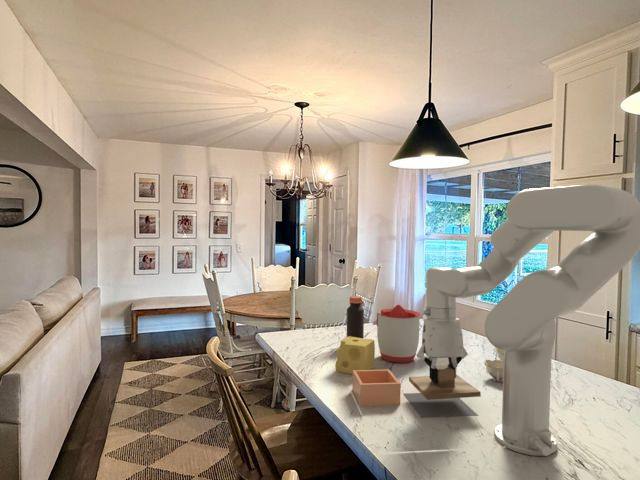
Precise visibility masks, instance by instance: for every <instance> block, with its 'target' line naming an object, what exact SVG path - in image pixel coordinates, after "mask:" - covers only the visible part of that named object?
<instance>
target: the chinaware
mask: <svg viewBox="0 0 640 480" xmlns="http://www.w3.org/2000/svg"><path fill="white" fill-rule="evenodd" d="M494 349H495V351H496V352H497V356H498V359H494V360H493V359H492V360H491V359H485V360H484V366H485V367H486V371H487V373H488V374H489V376H490V377H491V380H493V381H494V382H500V383H501V382H502V383H503V367H504V354H505V351H503V350H500V349H498V348H496V347H495V348H494Z"/></svg>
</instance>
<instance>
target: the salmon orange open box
mask: <svg viewBox="0 0 640 480" xmlns="http://www.w3.org/2000/svg"><path fill="white" fill-rule="evenodd" d="M401 385H402V384H401V382H400V381H399V379H398V378H397V377H396V376H395V375H394V373H393V372H392V371H391V370H390V369H371V370H353V374H352V390H351V391H352V393H353V394H354V396H355V399H356V400H357V402H358V404H359V406H360V407H368V406H369V407H370V406H374V407H375V406H393V405H395V406H396V405H398V406H399V405H401V387H402V386H401Z"/></svg>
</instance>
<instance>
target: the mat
mask: <svg viewBox="0 0 640 480" xmlns="http://www.w3.org/2000/svg"><path fill="white" fill-rule="evenodd" d="M403 396H404V398H406V400H407V401H408V403H410V405H411V406H412V407H413V409H414V410H415V411H416V413H417V415H418V416H419V417H420V418H422V419H425V418H431V419H432V418H452V417H453V418H454V417H457V418H458V417H477V416H479V415H478V413H477V412H475V411H474V410H473V409H472V408H471V407H470V406H469V405H468V404H466V403H465V402H464V401H463V400H462V398H449V399H433V400H427V399H426V398H425V397H424V396H423V395H422V394H421V393H420V392H410V393H407V392H405V393H403Z"/></svg>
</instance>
